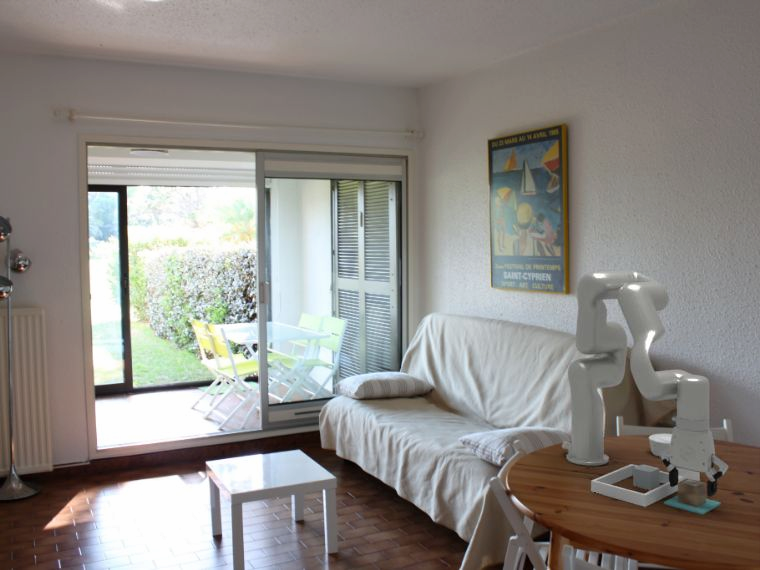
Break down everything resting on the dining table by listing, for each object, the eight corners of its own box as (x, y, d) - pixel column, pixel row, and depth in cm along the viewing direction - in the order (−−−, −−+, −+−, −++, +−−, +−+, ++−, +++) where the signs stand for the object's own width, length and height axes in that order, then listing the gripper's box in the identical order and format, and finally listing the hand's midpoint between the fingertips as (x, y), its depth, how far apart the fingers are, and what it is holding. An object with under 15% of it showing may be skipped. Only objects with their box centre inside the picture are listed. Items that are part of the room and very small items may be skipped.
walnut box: (677, 502, 183) (677, 482, 182) (686, 497, 186) (686, 478, 186) (697, 507, 179) (697, 487, 179) (705, 502, 182) (706, 482, 182)
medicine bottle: (700, 482, 198) (700, 440, 198) (673, 481, 200) (673, 439, 199) (694, 474, 205) (694, 433, 205) (668, 473, 207) (668, 432, 206)
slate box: (633, 486, 197) (633, 468, 197) (642, 481, 200) (642, 464, 200) (650, 490, 193) (650, 472, 193) (659, 486, 197) (659, 468, 196)
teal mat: (663, 504, 183) (663, 502, 183) (682, 494, 190) (682, 492, 190) (702, 514, 175) (702, 512, 175) (720, 504, 182) (720, 502, 182)
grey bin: (591, 491, 193) (591, 480, 193) (631, 474, 206) (631, 464, 206) (645, 507, 181) (645, 495, 181) (684, 487, 195) (684, 476, 194)
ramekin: (643, 455, 224) (643, 439, 224) (656, 447, 233) (656, 431, 232) (680, 462, 217) (680, 445, 217) (692, 453, 225) (692, 437, 225)
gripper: (653, 420, 185) (652, 485, 186) (720, 433, 172) (720, 503, 173) (667, 415, 190) (667, 478, 191) (734, 427, 177) (733, 495, 178)
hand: (692, 490), depth 182 cm, fingers open, 9 cm apart
